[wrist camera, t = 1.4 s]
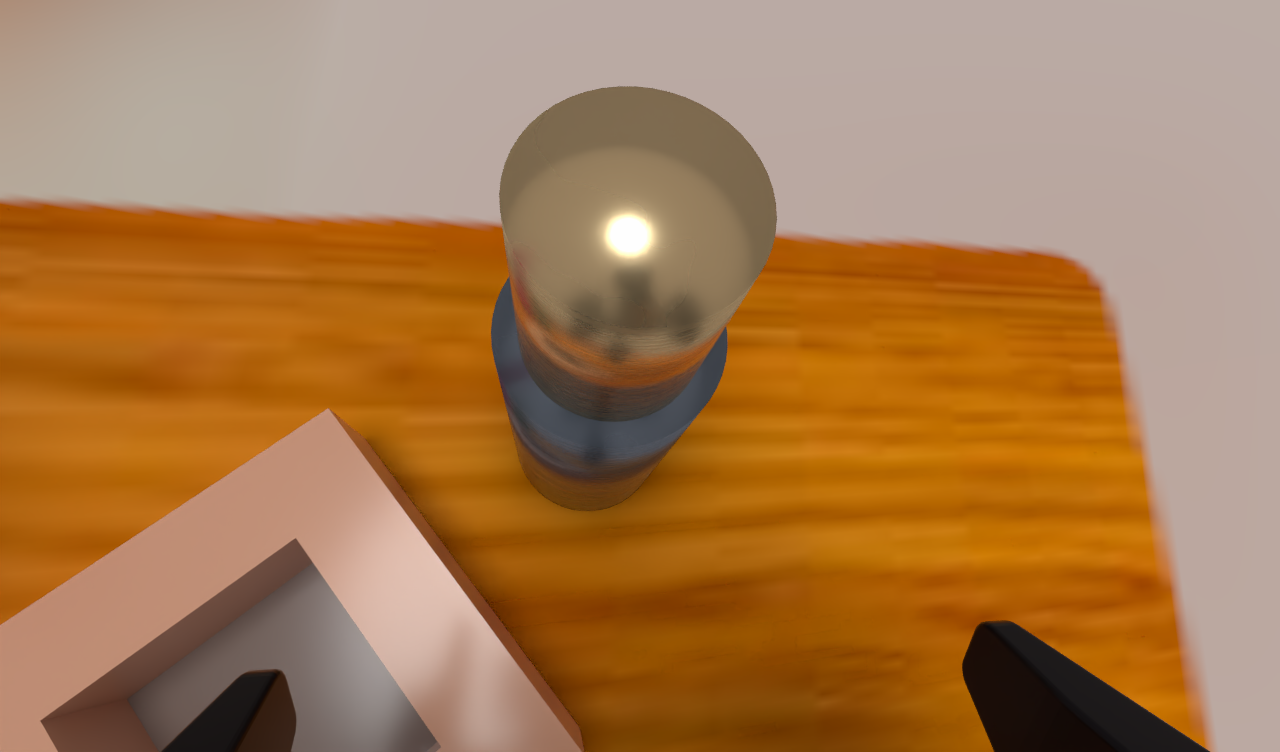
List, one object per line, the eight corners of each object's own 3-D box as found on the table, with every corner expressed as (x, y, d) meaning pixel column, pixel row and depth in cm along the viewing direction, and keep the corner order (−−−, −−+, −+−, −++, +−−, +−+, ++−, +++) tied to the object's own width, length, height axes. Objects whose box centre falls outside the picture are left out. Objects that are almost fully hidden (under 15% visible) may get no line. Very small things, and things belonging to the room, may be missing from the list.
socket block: (579, 727, 19) (585, 756, 15) (219, 1068, 15) (129, 1197, 12) (364, 438, 21) (328, 408, 17) (1, 687, 17) (-128, 709, 14)
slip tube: (683, 451, 22) (881, 234, 9) (576, 541, 20) (617, 445, 7) (597, 350, 23) (659, 9, 9) (488, 429, 21) (382, 161, 8)
